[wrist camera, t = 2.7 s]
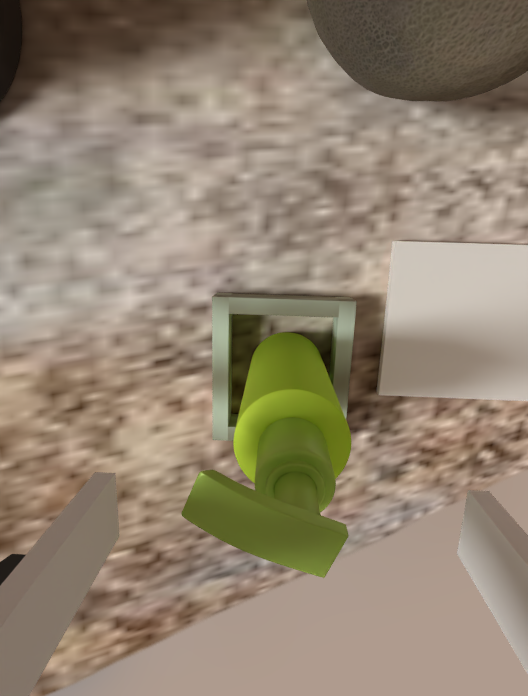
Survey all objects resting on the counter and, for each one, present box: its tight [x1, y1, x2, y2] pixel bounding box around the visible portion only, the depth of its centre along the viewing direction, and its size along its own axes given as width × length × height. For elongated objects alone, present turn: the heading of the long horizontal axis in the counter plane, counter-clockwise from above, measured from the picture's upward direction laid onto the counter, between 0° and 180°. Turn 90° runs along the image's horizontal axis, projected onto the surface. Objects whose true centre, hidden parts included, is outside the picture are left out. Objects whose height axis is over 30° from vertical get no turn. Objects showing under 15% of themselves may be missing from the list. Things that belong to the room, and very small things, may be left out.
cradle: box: [212, 293, 357, 441], centre depth 31 cm, size 11×10×2 cm
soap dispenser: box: [182, 332, 351, 578], centre depth 23 cm, size 6×7×20 cm
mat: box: [377, 241, 528, 401], centre depth 31 cm, size 12×12×1 cm
